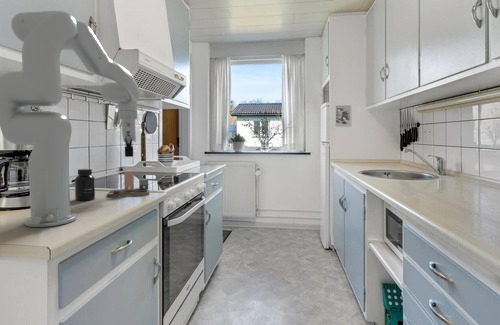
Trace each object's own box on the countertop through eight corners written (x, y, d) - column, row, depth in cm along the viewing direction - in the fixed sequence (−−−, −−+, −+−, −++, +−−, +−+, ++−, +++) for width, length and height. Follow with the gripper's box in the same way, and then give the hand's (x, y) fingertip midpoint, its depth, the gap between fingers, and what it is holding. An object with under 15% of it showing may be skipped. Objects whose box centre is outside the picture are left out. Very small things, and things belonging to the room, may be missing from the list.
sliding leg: (133, 190, 126) (133, 171, 125) (124, 190, 125) (124, 171, 124) (133, 188, 132) (133, 170, 131) (124, 188, 130) (124, 170, 130)
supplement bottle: (89, 201, 114) (88, 170, 113) (71, 201, 114) (70, 170, 113) (98, 198, 121) (97, 168, 120) (81, 197, 121) (81, 168, 120)
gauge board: (149, 194, 129) (149, 180, 128) (108, 197, 123) (107, 182, 122) (148, 191, 137) (147, 178, 136) (109, 193, 131) (109, 179, 130)
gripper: (137, 115, 120) (139, 157, 122) (136, 116, 136) (137, 154, 138) (117, 114, 118) (119, 157, 119) (119, 116, 134) (120, 154, 135)
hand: (129, 155), depth 129 cm, fingers open, 9 cm apart
